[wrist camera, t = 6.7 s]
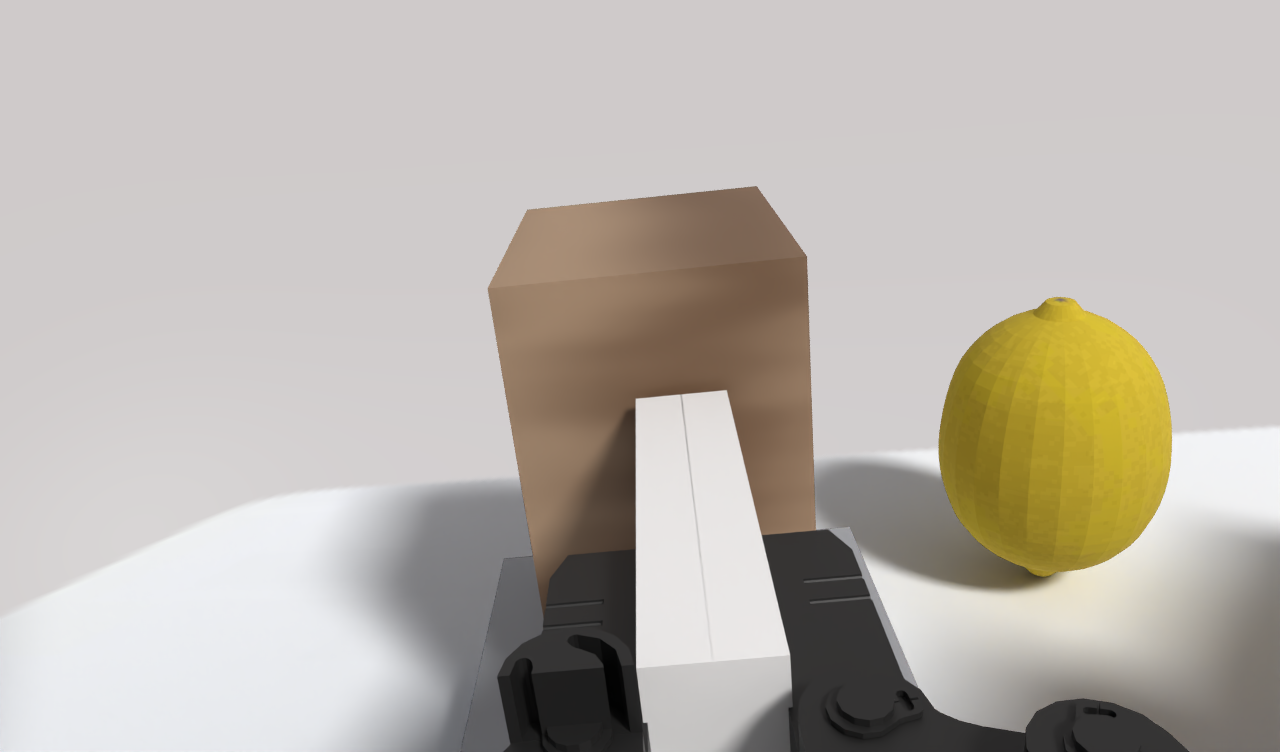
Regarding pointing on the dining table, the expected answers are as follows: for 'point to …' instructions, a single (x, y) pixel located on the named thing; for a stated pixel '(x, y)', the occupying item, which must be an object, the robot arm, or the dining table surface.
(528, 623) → the chute
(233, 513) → the dining table surface
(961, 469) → the lemon
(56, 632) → the dining table surface
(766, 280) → the block
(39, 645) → the dining table surface
